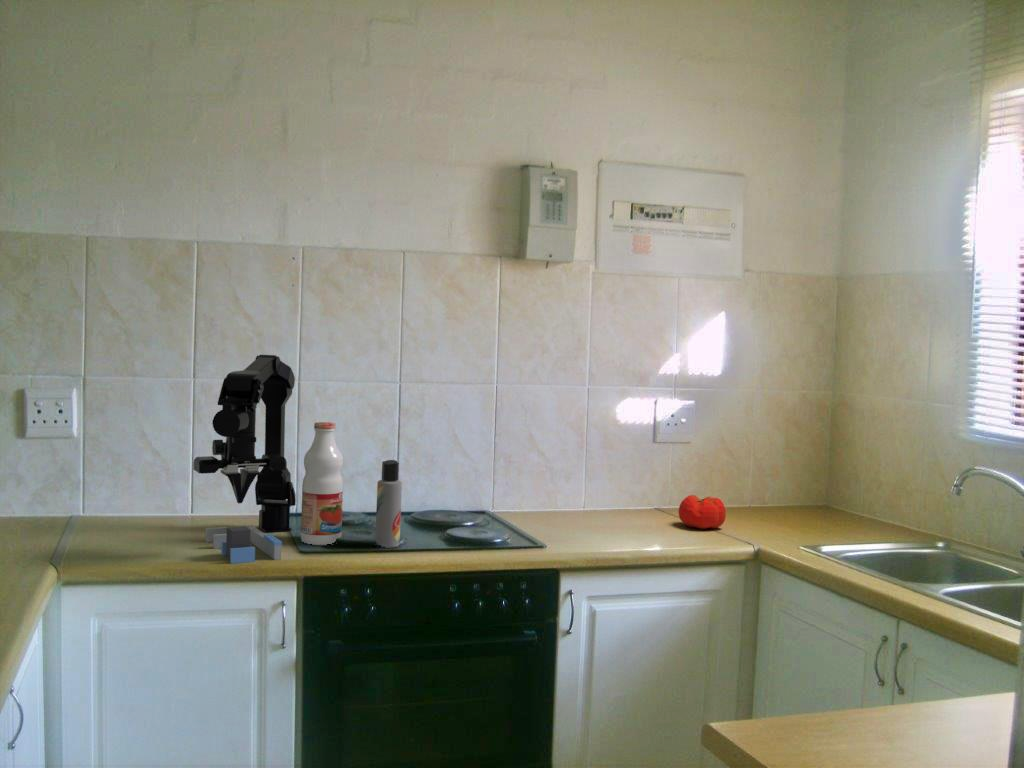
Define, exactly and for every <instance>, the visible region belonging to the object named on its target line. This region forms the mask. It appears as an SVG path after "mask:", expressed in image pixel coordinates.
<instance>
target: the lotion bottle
mask: <svg viewBox="0 0 1024 768" xmlns="http://www.w3.org/2000/svg"><path fill="white" fill-rule="evenodd" d="M381 463H382V464H381V480H378V481H377V486H376V488H377V489H376V490H377V491H376V515H375V538H374V539H375V541H376V542H377V543H378V544H379V545H381V546H382V547H381V548H383V547H385V549H386V548H387V549H390V548H393V549H394V548H398V547H399V546H400V537H401V521H402V520H401V516H402V494H403V493H402V492H403V490H402V488H403V487H402V486H403V483H402V481H401V480H399V472H400V471H399V467H400V465H399V462H398V461H397V460H396V459H387V460H384V461H382V462H381Z"/></svg>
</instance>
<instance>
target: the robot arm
mask: <svg viewBox="0 0 1024 768" xmlns="http://www.w3.org/2000/svg"><path fill="white" fill-rule="evenodd" d="M295 380H296V377H295V375H294V372H293V370H292V368H291V367H290V366H289V364H286V363H285V362H283V361H282V360H281V358H280V357H279V356H277V355H275V354H258V355H256V357H255V360H253V362H251V363H250V364H249V365H247V366H246V368H244V369H243V370H236V371H235V370H234V371H231V372H229V373H227V375H226V377H225V378H223V381H222V385H221V388H220V393H219V397H218V398H217V399H218V401H217V406H222V408H221V409H220V410H219V411H218V412H216V413H215V414H214V416H213V419H212V423H211V424H212V427H213V430H214V431H215V433H216V434H217V435H219V436H220V437H224V438H226V439H225V442H224V440H223V439H212V448H211V451H212V455H213V456H212V455H211V456H210V455H209V456H208V455H207V456H196V457H195V458H194V460H193V463H192V465H193V471H195V472H196V473H198V474H202V475H203V474H215V473H216V472H218V471H219V470H220V474H222V475H224V476H225V477H227V479H228V480H229V483H230V485H231V488H232V491H233V493H234V496H235V500H236V502H237V504H243V502H244V500H245V498H246V496H247V493H248V490H249V489H250V487H251V485H252V484H253V482H254V480H255V479H256V477H257V479H256V482H255V485H254V494H255V495H254V496H255V504H256V506H261V507H260V508H261V509H259V510H258V529H260V530H262V531H263V532H265V533H270V532H271V533H273V532H287V531H292V527H291V526H290V520H291V519H290V518H291V517H290V515H291V513H290V512H291V507H294V506H296V503H297V502H296V500H297V499H296V498H297V495H296V492H295V488H294V487H295V486H294V485H293V482H292V479H291V476H292V475H291V472H290V471H289V469H288V467H287V465H288V462H287V459H286V458H285V437H286V436H285V433H286V431H285V427H286V424H285V423H286V422H285V421H286V419H285V418H286V404H287V402H288V401H289V399H290V398H291V396H292V395H293V389H294V387H295ZM261 400H262V401H261ZM260 401H261V402H263V404H264V406H265V418H264V419H265V422H264V426H265V427H264V436H265V437H264V454H262V456H261V457H260V458H257V456H255V455H256V443H257V436H256V423H257V422H256V421H257V419H256V417H257V416H256V413H257V410H256V409H257V405H258V404H260V403H261V402H260ZM215 456H221V458H220V459H218V458H217V457H215ZM239 468H240V469H239ZM260 468H261V470H259V469H260Z"/></svg>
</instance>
